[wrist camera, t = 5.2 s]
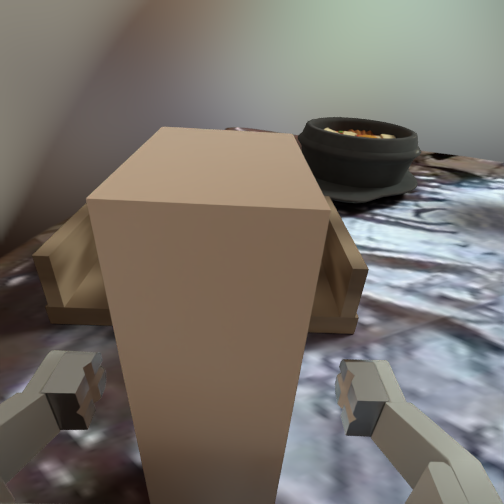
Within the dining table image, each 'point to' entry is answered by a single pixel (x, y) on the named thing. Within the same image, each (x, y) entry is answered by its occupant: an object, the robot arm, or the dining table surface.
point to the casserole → (359, 158)
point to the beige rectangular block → (211, 304)
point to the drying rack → (95, 300)
